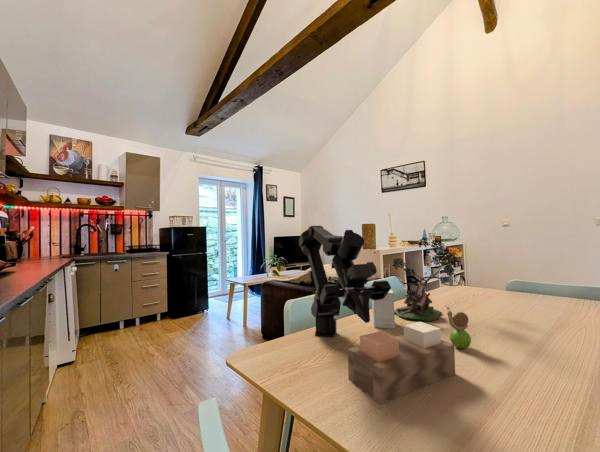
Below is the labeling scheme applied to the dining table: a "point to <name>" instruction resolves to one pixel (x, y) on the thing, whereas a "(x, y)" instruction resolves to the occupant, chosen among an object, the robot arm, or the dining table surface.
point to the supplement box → (384, 311)
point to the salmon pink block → (379, 346)
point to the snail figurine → (459, 329)
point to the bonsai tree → (423, 287)
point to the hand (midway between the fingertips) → (367, 321)
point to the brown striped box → (401, 369)
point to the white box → (422, 334)
